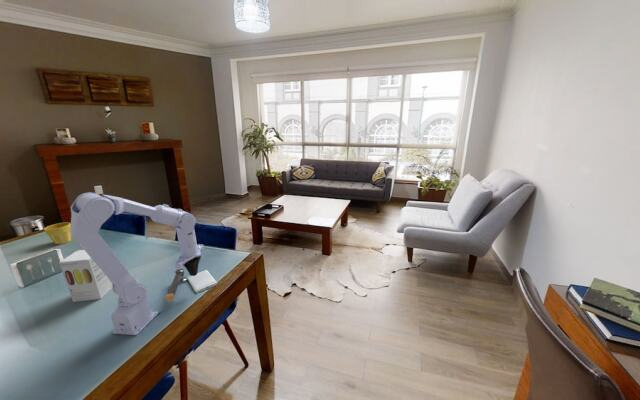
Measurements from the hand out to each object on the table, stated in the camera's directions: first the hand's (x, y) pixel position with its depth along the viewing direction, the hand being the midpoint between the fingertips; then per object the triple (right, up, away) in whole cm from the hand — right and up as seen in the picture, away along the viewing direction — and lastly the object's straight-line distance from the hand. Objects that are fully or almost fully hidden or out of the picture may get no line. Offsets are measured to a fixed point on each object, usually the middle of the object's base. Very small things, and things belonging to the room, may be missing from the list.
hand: (193, 274), depth 95 cm
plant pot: (-96, +5, +44) cm, 106 cm away
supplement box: (-39, -8, +1) cm, 39 cm away
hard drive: (0, -6, +7) cm, 9 cm away
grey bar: (-7, -4, 0) cm, 8 cm away
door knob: (-9, -5, +7) cm, 12 cm away
